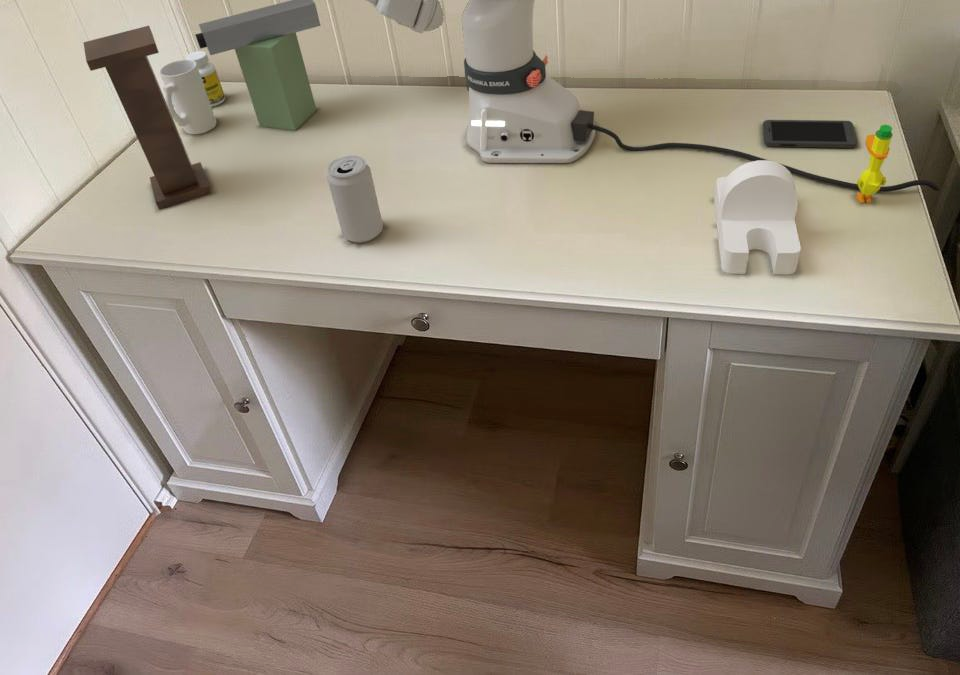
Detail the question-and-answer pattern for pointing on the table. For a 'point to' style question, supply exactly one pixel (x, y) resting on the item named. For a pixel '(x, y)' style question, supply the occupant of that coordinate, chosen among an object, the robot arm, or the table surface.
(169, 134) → the stand
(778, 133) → the cell phone
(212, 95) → the supplement bottle
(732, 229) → the white notched rounded piece
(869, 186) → the toy figure
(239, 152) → the table surface
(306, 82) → the block
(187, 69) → the mug
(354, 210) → the beverage can
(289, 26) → the gray rectangular bar
